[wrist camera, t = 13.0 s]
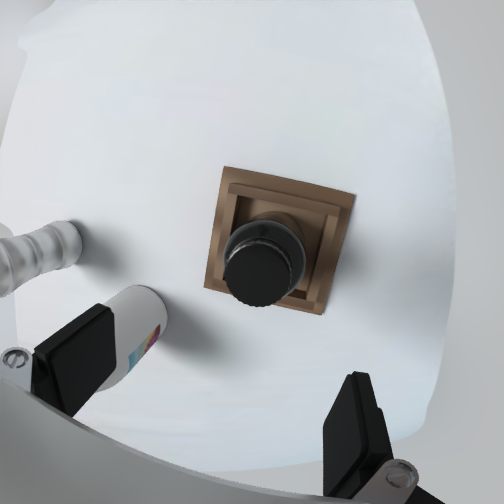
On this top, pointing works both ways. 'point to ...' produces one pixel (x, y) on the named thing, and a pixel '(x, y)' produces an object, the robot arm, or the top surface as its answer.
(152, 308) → the milk bottle
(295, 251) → the supplement bottle
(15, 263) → the plastic bottle
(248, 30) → the top surface
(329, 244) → the walnut stand
